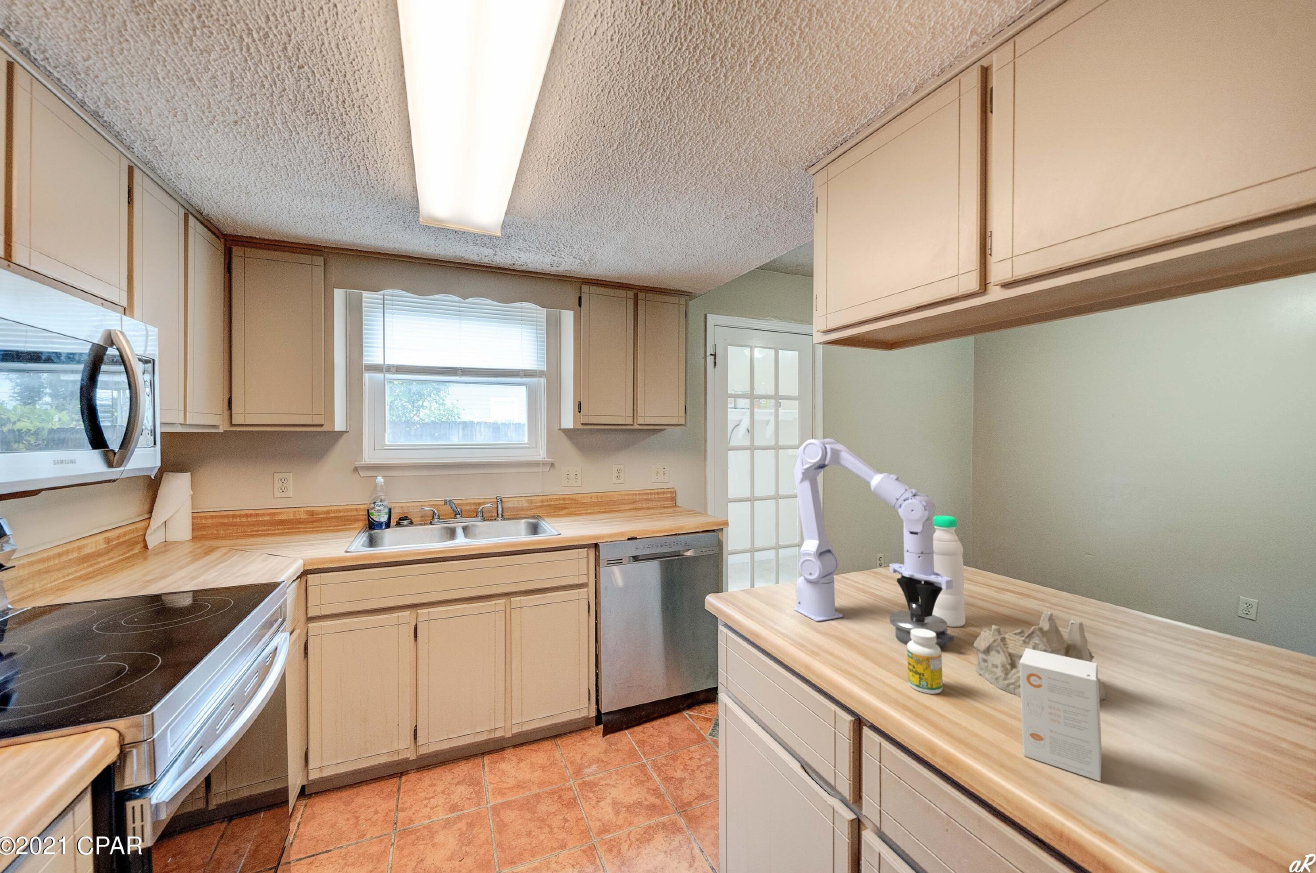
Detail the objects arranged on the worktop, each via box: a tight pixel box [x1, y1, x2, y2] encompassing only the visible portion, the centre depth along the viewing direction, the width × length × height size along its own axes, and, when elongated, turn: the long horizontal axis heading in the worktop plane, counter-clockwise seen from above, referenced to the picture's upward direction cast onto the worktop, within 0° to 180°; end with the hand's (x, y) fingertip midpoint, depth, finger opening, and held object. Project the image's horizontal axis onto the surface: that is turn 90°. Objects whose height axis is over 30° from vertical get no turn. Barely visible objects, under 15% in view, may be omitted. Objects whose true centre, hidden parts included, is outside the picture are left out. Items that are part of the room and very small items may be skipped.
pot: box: [894, 626, 955, 650], centre depth 105 cm, size 14×10×4 cm
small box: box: [1019, 648, 1103, 782], centre depth 67 cm, size 8×6×13 cm
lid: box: [889, 600, 948, 634], centre depth 105 cm, size 11×11×5 cm
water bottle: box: [932, 515, 966, 628], centre depth 115 cm, size 7×7×25 cm
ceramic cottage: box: [973, 610, 1107, 702], centre depth 87 cm, size 16×16×15 cm
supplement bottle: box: [906, 629, 944, 695], centre depth 86 cm, size 5×5×10 cm
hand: (920, 613), depth 105 cm, fingers open, 3 cm apart
